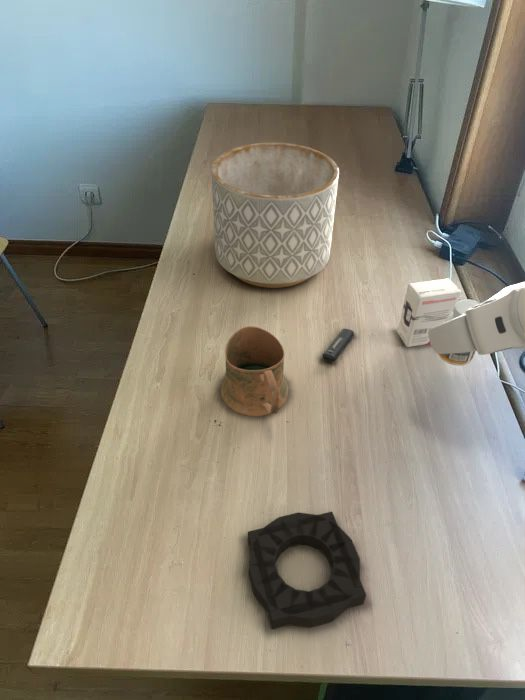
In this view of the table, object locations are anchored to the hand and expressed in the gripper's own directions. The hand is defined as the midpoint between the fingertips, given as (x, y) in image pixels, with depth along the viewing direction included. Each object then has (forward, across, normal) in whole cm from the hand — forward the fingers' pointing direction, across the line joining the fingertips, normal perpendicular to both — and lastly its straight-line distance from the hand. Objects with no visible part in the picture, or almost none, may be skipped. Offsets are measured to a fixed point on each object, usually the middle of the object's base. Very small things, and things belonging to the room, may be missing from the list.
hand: (459, 328), depth 89 cm
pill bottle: (+4, 0, +4) cm, 6 cm away
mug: (+18, +30, +2) cm, 35 cm away
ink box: (+19, -6, +1) cm, 20 cm away
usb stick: (+22, +10, -2) cm, 24 cm away
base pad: (-3, +38, +23) cm, 44 cm away
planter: (+44, +8, -24) cm, 51 cm away
